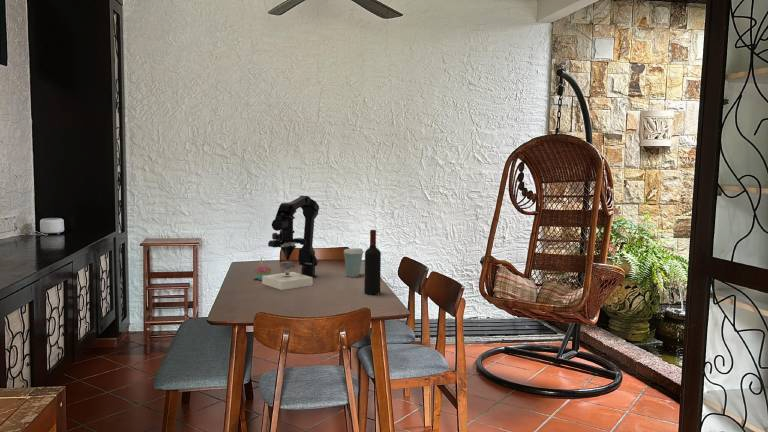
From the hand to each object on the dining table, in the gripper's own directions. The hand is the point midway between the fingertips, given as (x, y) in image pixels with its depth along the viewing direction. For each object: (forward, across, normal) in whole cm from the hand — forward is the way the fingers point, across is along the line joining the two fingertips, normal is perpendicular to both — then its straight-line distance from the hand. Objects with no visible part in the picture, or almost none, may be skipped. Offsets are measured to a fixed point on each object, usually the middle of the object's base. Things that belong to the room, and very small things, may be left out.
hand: (287, 259), depth 312 cm
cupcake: (+13, +3, -19) cm, 23 cm away
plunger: (+8, 0, 0) cm, 8 cm away
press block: (+12, 0, 0) cm, 13 cm away
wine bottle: (+13, -21, +41) cm, 48 cm away
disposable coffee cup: (+13, -40, +2) cm, 42 cm away
